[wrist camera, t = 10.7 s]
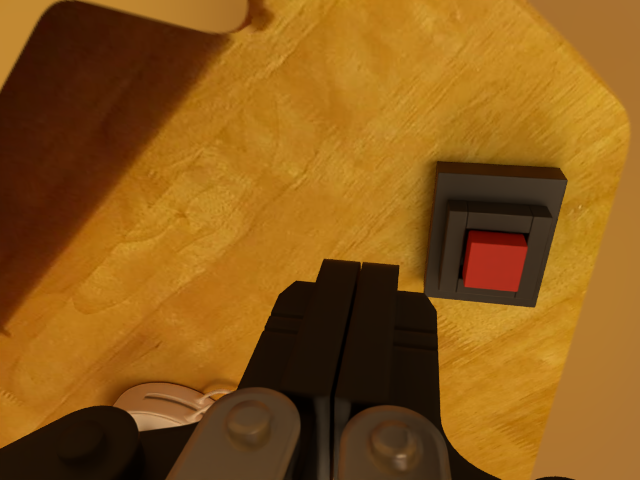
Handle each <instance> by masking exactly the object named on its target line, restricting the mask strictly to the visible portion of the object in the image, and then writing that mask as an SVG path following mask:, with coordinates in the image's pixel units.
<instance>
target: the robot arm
mask: <svg viewBox="0 0 640 480" xmlns="http://www.w3.org/2000/svg"><path fill="white" fill-rule="evenodd" d="M398 276H399V265H390V264H379V263H368V262H363V264H362V268H361V263H360V262H356V261H345V260H333V259H324V260H323V262H322V265H321V268H320V271H319V274H318V277H317V280H316V282H305V281H295V282H294V283H292V284H291V285H290V286H289V287H288V288H286V289H285V290H284V291H283V292H282V293H280V294H279V296H278V298H277V300H276V303H275V305H274V307H273V309H272V312H271V316H269V318H268V321H267V323H266V325H265V329H264V331H263V332H262V334H261V336H260V339H259V341H258V343H257V345H256V348H255V350H254V352H253V354H252V357H251V359H250V361H249V363H248V366H247V368H246V370H245V372H244V375H243V377H242V379H241V381H240V383H239V386H238V388H237V390H236V391H233V392H231V393H228V394H226V395H224V396H223V397H221V398H219V399H218V400H217V401H215V402H214V403H213V404H212V405H211V406H210V407H209V408H208V409H207V411H206V412H205V414H204V415H203V417H202V418H201V420H200V421H198V422H194V423H191V424H187V425H182V426H176V427H168V428H161V429H154V430H146V431H139V430H138V427H137V424H136V422H135V420H134V418H133V417H132V416H131V415H130V414H129V413H128V412H126V411H125V410H123V409H120V408H118V407H113V406H93V407H88V408H84V409H81V410H78V411H75V412H72V413H70V414H68V415H66V416H64V417H62V418H60V419H58V420H56V421H54V422H52V423H50V424H48V425H46V426H44V427H42V428H40V429H38V430H36V431H34V432H32V433H30V434H28V435H26V436H24V437H22V438H20V439H18V440H17V441H15V442H13V443H11V444H9V445H7V446H5V447H3V448H1V449H0V480H333V479H334V480H501V479H499V478H497V477H495V476H492V475H490V474H488V473H486V472H484V471H482V470H480V469H478V468H477V467H475V466H474V465H472V464H471V463H469V462H468V461H467V460H466V459H464V458H463V457H462V456H461V455H460V454H459V453H458V452H457V451H456V450H455V449H454V448H453V446H452V445H451V443H450V442H449V441H448V439H447V437H446V435H445V433H444V430H443V427H442V424H441V417H440V390H439V363H438V336H437V311H436V309H435V308H434V306H433V305H432V303H431V302H430V300H429V299H428V297H427V296H426V294H425V293H418V292H407V291H397V288H398ZM536 480H574V479H570V478H566V477H556V476H555V477H544V478H539V479H536Z"/></svg>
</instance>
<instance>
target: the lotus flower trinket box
mask: <svg viewBox="0 0 640 480" xmlns="http://www.w3.org/2000/svg"><path fill="white" fill-rule="evenodd" d="M231 392H233V391H231V390H227V389H217V390H214V391H211V392H209V393H207V394H205V395H203V394H201V393H199V392H197V391H195V390H192V389H190V388H187V387H183V386H180V385H175V384H169V383H147V384H141V385H138V386H135V387H132V388H130V389H128V390H127V391H125V392H124V393H123V394H122V395H121V396H120V397H119V398H118V400H117V401H116V402H115V404H114V405H113V407H118V408H120V409H123V410H125V411H126V412H128V413H129V414H130V415H131V416H132V417H133V418H134V420H135V422H136V424H137V427H138V430H139V431H146V430H154V429H161V428H168V427H176V426H182V425H187V424H191V423H194V422H198V421H200V420H201V418H202V417H203V415H204V414H205V412H206V411H207V409H208V408H209V407H210V406H211V405H212V404H213V403H214V402H215V401H214V400H212V399H211V398H209V397H208V396H211V395H213V394H217V393H226V394H228V393H231Z"/></svg>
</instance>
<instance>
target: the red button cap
mask: <svg viewBox="0 0 640 480" xmlns="http://www.w3.org/2000/svg"><path fill="white" fill-rule="evenodd" d="M527 249H528V246H527V244H526V241H525V238H524V236H523V234H514V233H501V232H488V231H475V230H469V234H468V240H467V246H466V252H465V259H464V265H463V271H462V275H463V283H464V287H472V288H482V289H493V290H503V291H514V292H517V291H518V288H519V284H520V279H521V275H522V271H523V266H524V262H525V258H526V253H527Z"/></svg>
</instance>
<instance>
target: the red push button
mask: <svg viewBox="0 0 640 480" xmlns="http://www.w3.org/2000/svg"><path fill="white" fill-rule="evenodd" d="M567 181H568V180H567V178H566V177H565V176H564V174H563V173H562V171H561V170H560V168H549V167H531V166H513V165H494V164H476V163H457V162H439V161H438V162H437V169H436V178H435V186H434V195H433V204H432V213H431V221H430V230H429V239H428V247H427V256H426V265H425V274H424V293H425V294H426V296H427V297H434V298H444V299H454V300H464V301H474V302H484V303H494V304H504V305H514V306H524V307H535V306H536V302H537V298H538V294H539V290H540V286H541V282H542V278H543V274H544V271H545V267H546V263H547V259H548V255H549V251H550V247H551V243H552V239H553V236H554V232H555V228H556V224H557V220H558V216H559V212H560V208H561V204H562V201H563V197H564V193H565V189H566V185H567ZM469 230H475V231H488V232H501V233H514V234H523V236H524V238H525V241H526V244H527V246H528V249H527V253H526V258H525V262H524V266H523V271H522V275H521V279H520V284H519V288H518V291H517V292H514V291H503V290H493V289H482V288H472V287H464V283H463V275H462V271H463V265H464V259H465V252H466V246H467V240H468V234H469Z"/></svg>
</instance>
